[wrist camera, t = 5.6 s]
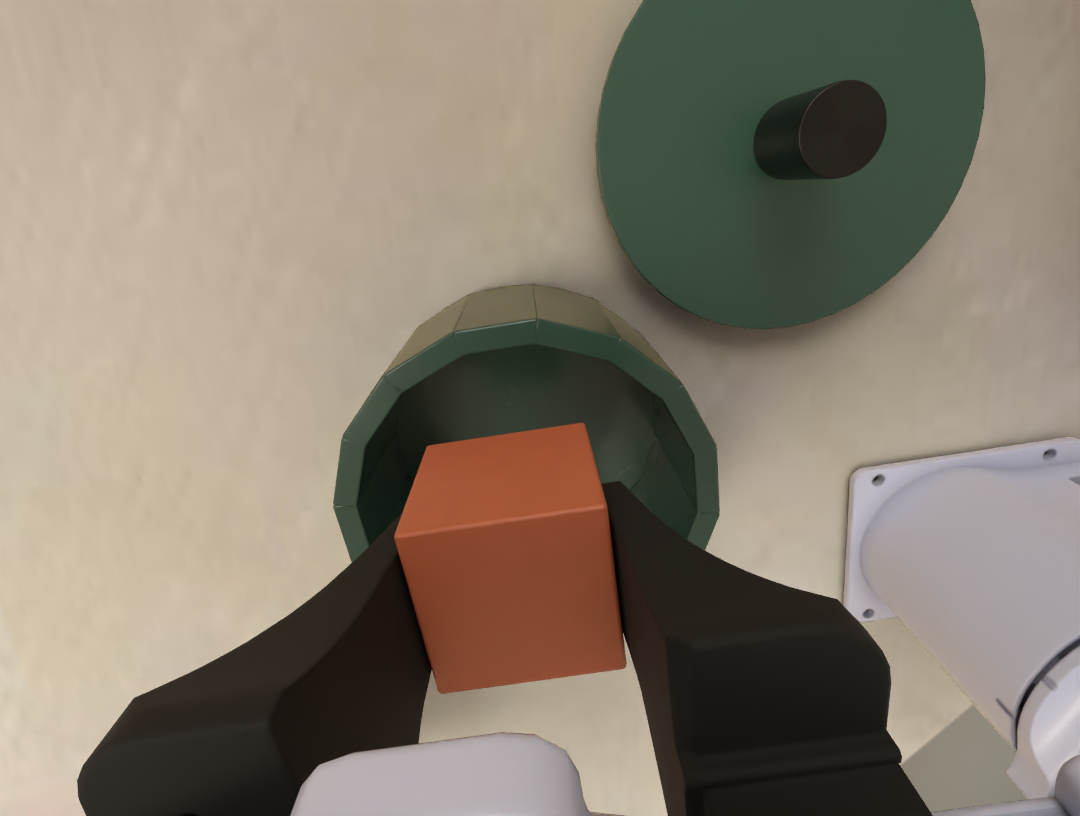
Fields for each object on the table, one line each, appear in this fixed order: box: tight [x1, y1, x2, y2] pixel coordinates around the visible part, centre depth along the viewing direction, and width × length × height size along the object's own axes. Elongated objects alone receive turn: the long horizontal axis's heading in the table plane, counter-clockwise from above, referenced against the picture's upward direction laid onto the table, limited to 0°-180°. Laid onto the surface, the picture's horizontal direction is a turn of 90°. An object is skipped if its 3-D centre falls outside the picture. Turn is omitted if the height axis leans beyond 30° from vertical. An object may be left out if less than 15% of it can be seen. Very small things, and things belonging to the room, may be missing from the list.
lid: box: [596, 0, 986, 329], centre depth 17 cm, size 12×12×4 cm
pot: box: [333, 284, 720, 631], centre depth 20 cm, size 11×11×6 cm
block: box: [394, 423, 626, 694], centre depth 13 cm, size 4×4×4 cm
